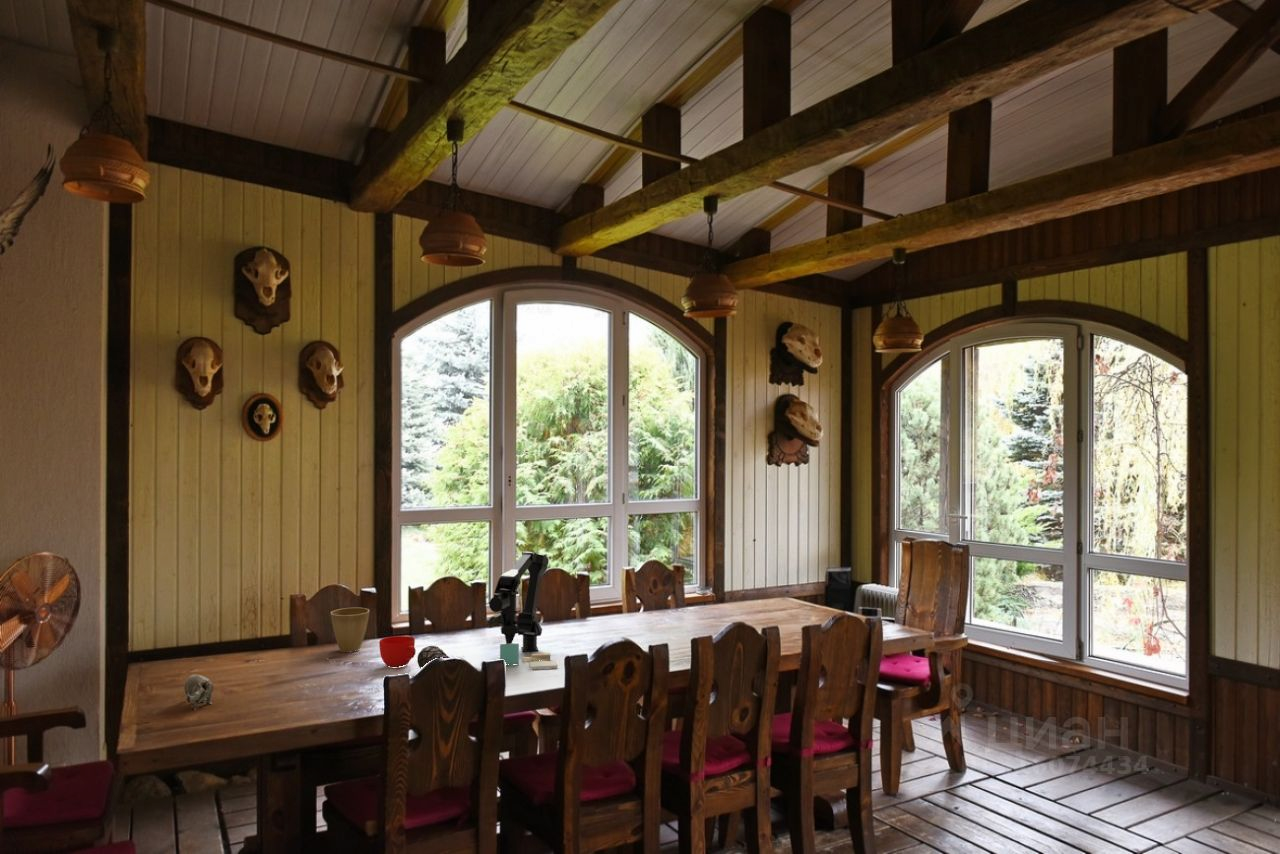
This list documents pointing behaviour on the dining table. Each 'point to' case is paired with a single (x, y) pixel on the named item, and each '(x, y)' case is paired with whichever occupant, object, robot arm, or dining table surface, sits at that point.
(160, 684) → the dining table surface
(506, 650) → the tile
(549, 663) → the rest
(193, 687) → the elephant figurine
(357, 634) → the plant pot
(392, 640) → the ceramic cup
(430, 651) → the pine cone
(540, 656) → the beige flat block
